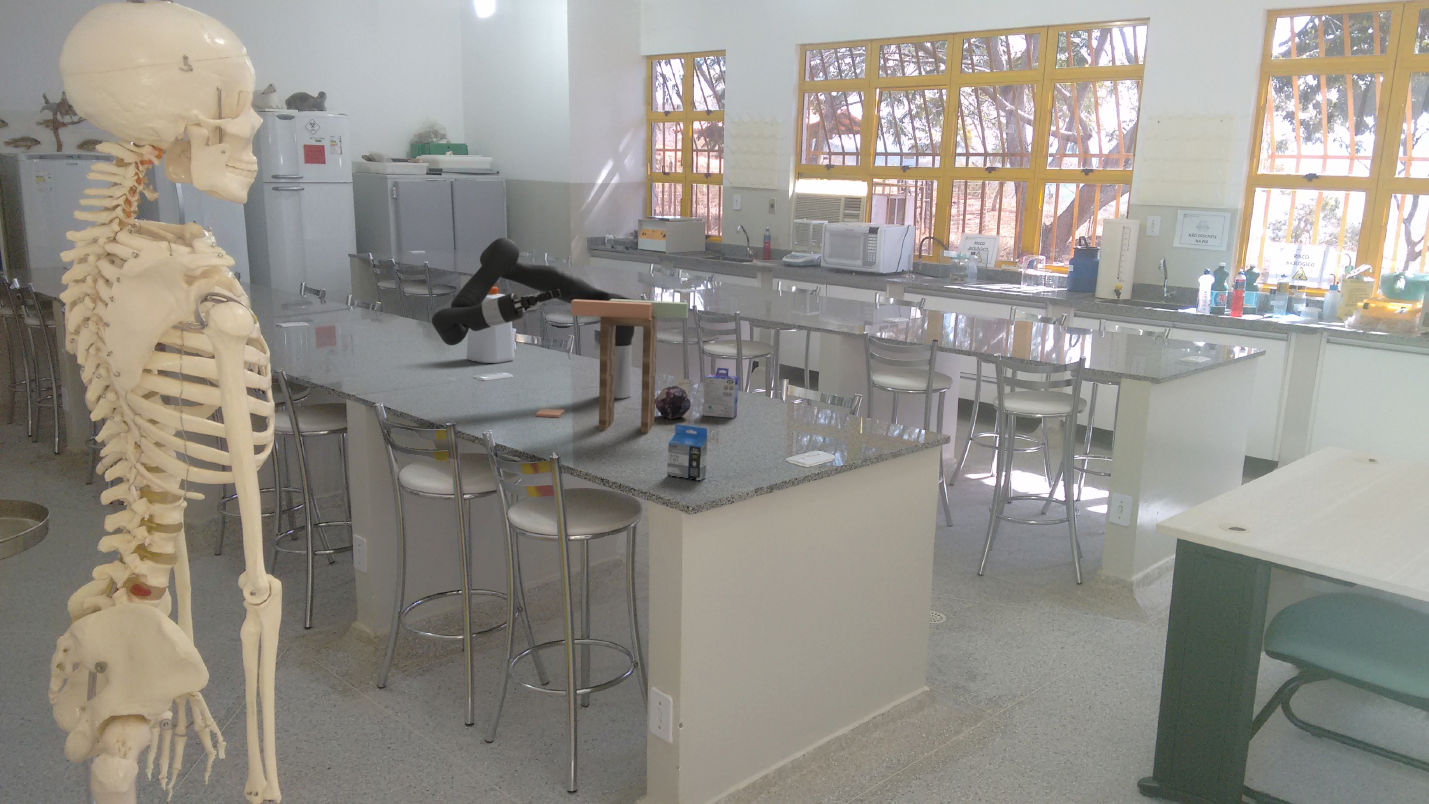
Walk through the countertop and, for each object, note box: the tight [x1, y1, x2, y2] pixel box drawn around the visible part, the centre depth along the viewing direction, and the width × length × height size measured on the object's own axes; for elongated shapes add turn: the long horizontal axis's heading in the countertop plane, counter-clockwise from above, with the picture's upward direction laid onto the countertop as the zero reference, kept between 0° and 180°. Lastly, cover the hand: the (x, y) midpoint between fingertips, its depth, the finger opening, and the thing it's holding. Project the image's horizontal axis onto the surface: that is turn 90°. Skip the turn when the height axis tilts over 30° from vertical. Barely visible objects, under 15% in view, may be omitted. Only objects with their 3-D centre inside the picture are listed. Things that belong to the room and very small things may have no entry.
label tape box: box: [666, 423, 708, 481], centre depth 248 cm, size 9×4×12 cm, turn 66°
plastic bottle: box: [466, 286, 515, 364], centre depth 394 cm, size 15×15×28 cm
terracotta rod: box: [570, 299, 652, 319], centre depth 288 cm, size 4×22×4 cm, turn 85°
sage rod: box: [609, 299, 689, 319], centre depth 293 cm, size 4×22×4 cm, turn 85°
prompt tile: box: [535, 408, 565, 418], centre depth 309 cm, size 7×7×1 cm
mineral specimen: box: [655, 385, 692, 420], centre depth 311 cm, size 10×10×10 cm
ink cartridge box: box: [702, 367, 739, 419], centre depth 315 cm, size 10×6×14 cm, turn 78°
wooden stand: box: [598, 317, 658, 434], centre depth 294 cm, size 12×14×32 cm
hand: (555, 293), depth 288 cm, fingers open, 8 cm apart
